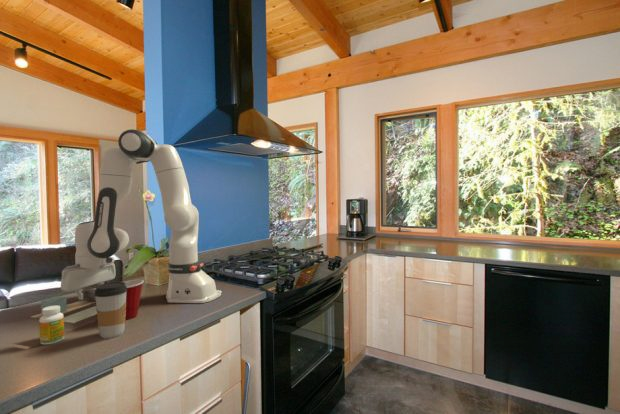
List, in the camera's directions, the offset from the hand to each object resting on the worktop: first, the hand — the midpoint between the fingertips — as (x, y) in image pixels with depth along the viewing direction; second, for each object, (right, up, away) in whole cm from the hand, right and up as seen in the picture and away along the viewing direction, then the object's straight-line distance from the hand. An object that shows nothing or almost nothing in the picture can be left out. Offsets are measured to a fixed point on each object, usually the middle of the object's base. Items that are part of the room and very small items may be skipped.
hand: (90, 296), depth 122 cm
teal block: (-4, -2, -13) cm, 14 cm away
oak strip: (-2, -3, -8) cm, 9 cm away
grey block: (+9, -3, -11) cm, 15 cm away
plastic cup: (+24, -3, -15) cm, 28 cm away
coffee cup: (+27, -3, -29) cm, 40 cm away
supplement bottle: (+13, -4, -33) cm, 35 cm away
